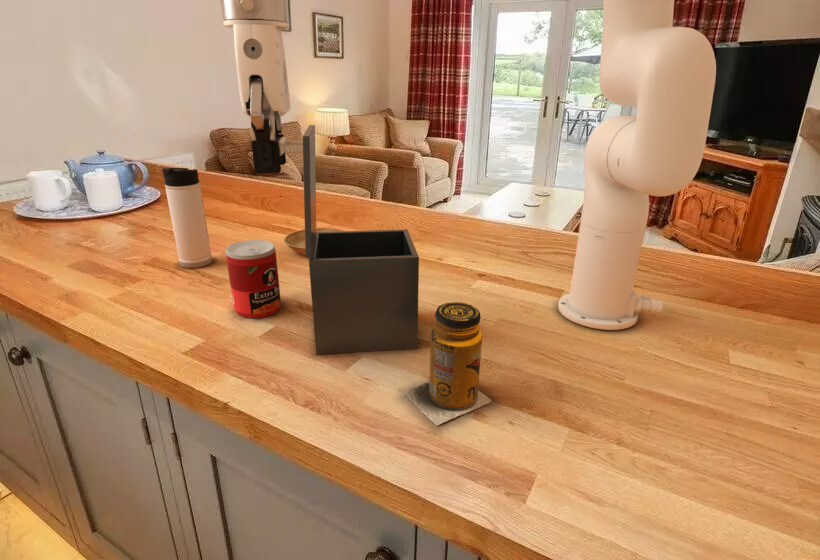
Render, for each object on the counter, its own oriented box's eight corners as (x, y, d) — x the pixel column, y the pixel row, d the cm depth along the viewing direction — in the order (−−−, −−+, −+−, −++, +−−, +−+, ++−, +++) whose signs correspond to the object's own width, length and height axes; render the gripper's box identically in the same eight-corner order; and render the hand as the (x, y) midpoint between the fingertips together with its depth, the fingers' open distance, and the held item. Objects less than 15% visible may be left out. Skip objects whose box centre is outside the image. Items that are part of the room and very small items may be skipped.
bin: (407, 310, 83) (407, 229, 77) (417, 348, 72) (419, 257, 66) (319, 314, 81) (313, 231, 76) (316, 354, 70) (308, 261, 64)
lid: (315, 125, 70) (278, 123, 69) (309, 136, 58) (265, 134, 57) (316, 229, 76) (282, 228, 75) (311, 257, 64) (271, 257, 63)
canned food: (257, 323, 78) (248, 259, 74) (223, 311, 82) (214, 249, 78) (291, 305, 84) (285, 245, 80) (259, 294, 88) (251, 236, 84)
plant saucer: (275, 257, 105) (273, 246, 104) (297, 236, 119) (296, 226, 118) (342, 261, 104) (341, 249, 103) (357, 239, 117) (356, 228, 116)
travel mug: (171, 266, 100) (152, 167, 92) (195, 256, 106) (179, 162, 98) (195, 270, 98) (177, 170, 90) (218, 260, 104) (204, 164, 96)
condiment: (492, 402, 60) (500, 315, 56) (436, 427, 56) (440, 335, 51) (455, 373, 66) (459, 292, 61) (402, 394, 62) (402, 308, 57)
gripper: (279, 6, 51) (294, 181, 58) (294, 21, 66) (304, 157, 73) (204, 4, 50) (228, 182, 57) (237, 20, 65) (253, 158, 72)
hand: (271, 167), depth 65 cm, fingers open, 5 cm apart
